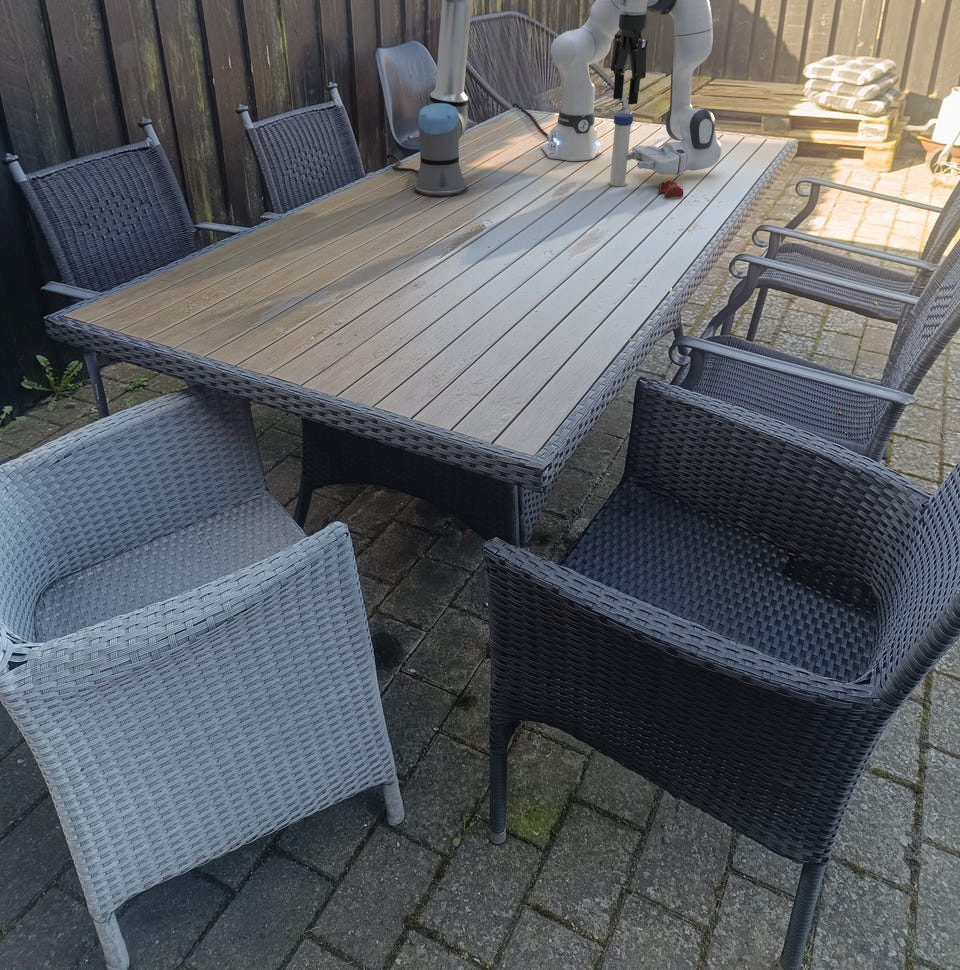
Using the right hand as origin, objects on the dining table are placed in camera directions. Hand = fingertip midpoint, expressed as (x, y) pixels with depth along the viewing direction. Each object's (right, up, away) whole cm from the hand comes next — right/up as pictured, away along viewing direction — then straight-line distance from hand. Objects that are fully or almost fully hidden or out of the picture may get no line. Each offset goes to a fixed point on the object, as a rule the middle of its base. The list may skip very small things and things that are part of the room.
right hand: (631, 161), depth 260 cm
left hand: (-4, +13, -11) cm, 18 cm away
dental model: (+11, -13, -6) cm, 18 cm away
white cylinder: (-4, -6, +3) cm, 8 cm away
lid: (-4, +10, -9) cm, 14 cm away
